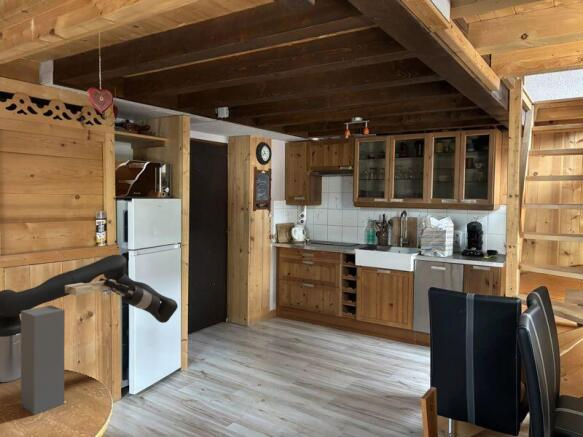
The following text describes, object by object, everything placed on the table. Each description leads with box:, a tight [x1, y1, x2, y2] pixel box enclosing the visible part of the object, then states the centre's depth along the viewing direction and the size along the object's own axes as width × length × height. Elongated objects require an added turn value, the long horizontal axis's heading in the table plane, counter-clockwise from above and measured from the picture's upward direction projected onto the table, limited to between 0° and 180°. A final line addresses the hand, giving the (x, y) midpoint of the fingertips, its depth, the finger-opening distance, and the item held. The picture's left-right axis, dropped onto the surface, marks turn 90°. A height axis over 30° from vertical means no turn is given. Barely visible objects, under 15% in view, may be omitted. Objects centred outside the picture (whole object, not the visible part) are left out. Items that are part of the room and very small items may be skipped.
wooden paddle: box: [65, 279, 116, 296], centre depth 157 cm, size 7×16×2 cm, turn 145°
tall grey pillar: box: [20, 305, 66, 416], centre depth 144 cm, size 9×10×32 cm
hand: (102, 281), depth 160 cm, fingers closed on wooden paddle, 3 cm apart
